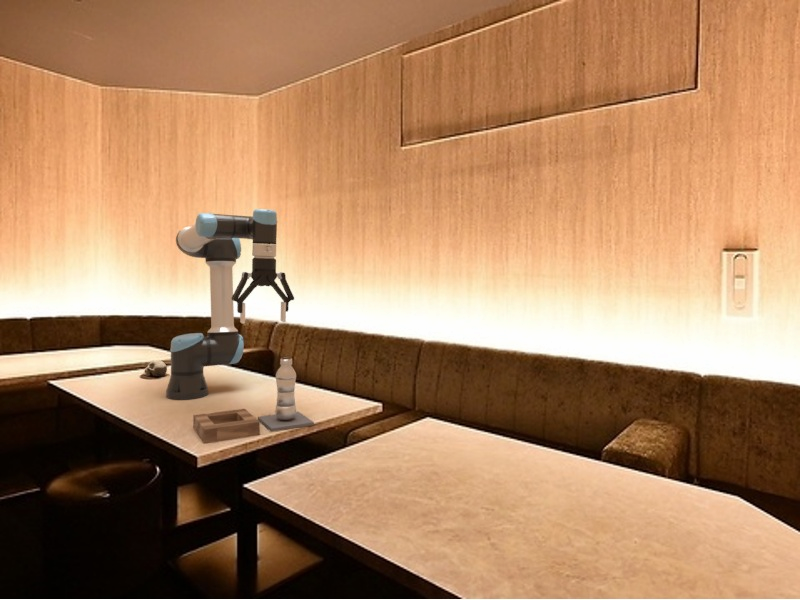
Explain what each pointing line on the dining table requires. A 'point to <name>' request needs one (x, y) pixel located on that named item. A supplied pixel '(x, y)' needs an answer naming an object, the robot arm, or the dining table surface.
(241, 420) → the walnut block
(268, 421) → the charcoal mat
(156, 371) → the skull
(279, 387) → the plastic bottle
